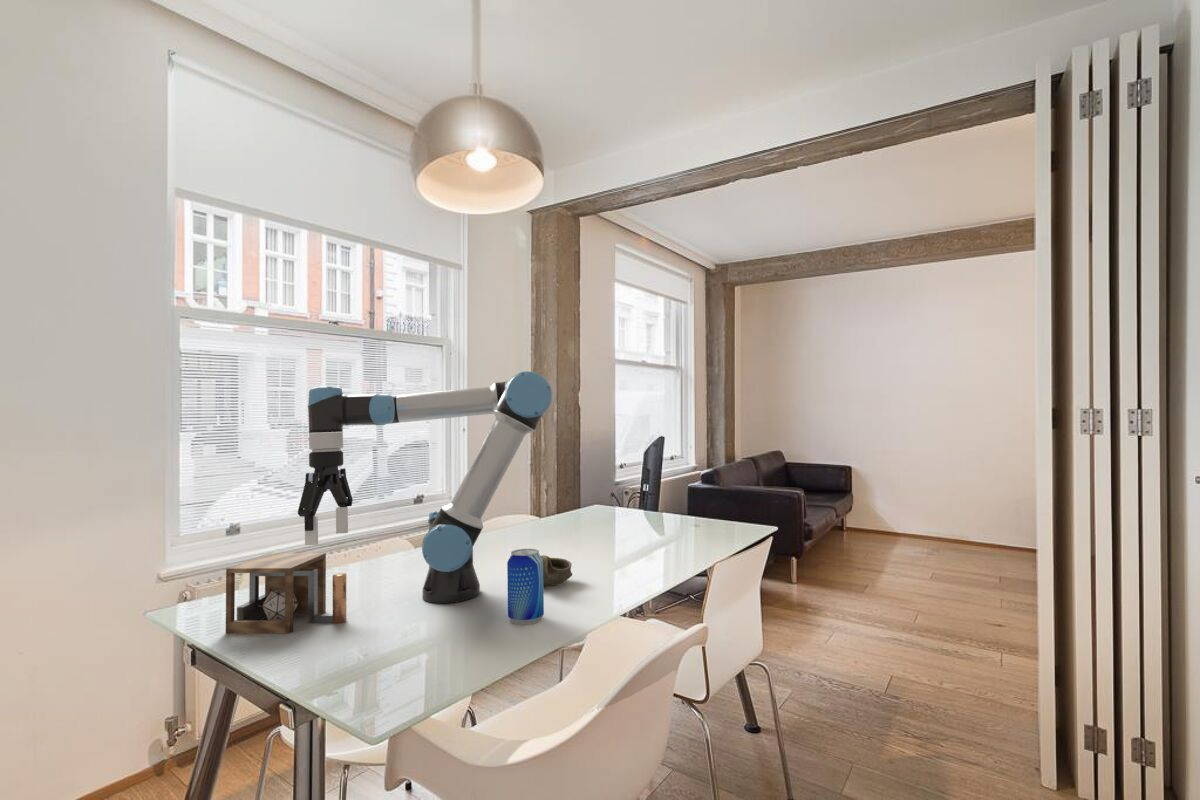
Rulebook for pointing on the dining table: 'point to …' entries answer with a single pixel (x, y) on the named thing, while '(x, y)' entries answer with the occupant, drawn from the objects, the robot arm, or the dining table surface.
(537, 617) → the beer can
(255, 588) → the pull yoke
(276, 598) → the game die
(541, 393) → the robot arm
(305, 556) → the shelf lane
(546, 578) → the brown rounded hollow piece
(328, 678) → the dining table surface
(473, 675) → the dining table surface
